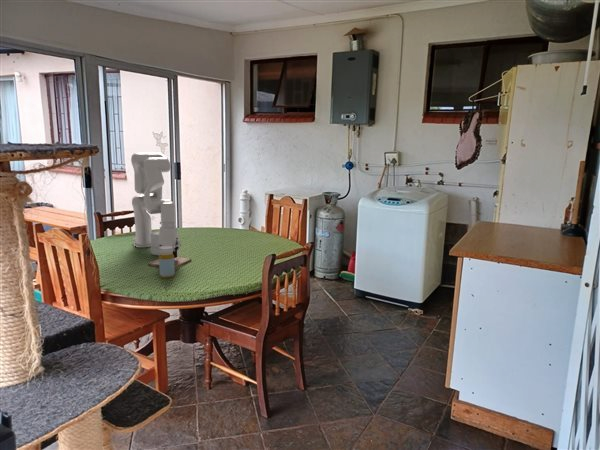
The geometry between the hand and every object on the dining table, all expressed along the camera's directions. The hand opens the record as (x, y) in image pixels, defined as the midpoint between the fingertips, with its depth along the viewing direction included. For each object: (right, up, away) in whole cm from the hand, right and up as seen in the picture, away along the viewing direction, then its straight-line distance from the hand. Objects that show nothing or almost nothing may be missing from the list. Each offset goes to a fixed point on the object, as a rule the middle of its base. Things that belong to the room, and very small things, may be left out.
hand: (170, 256), depth 227 cm
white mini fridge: (0, -1, 0) cm, 1 cm away
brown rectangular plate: (0, -4, +1) cm, 4 cm away
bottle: (+5, -8, -20) cm, 22 cm away
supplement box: (-11, 0, +18) cm, 22 cm away
